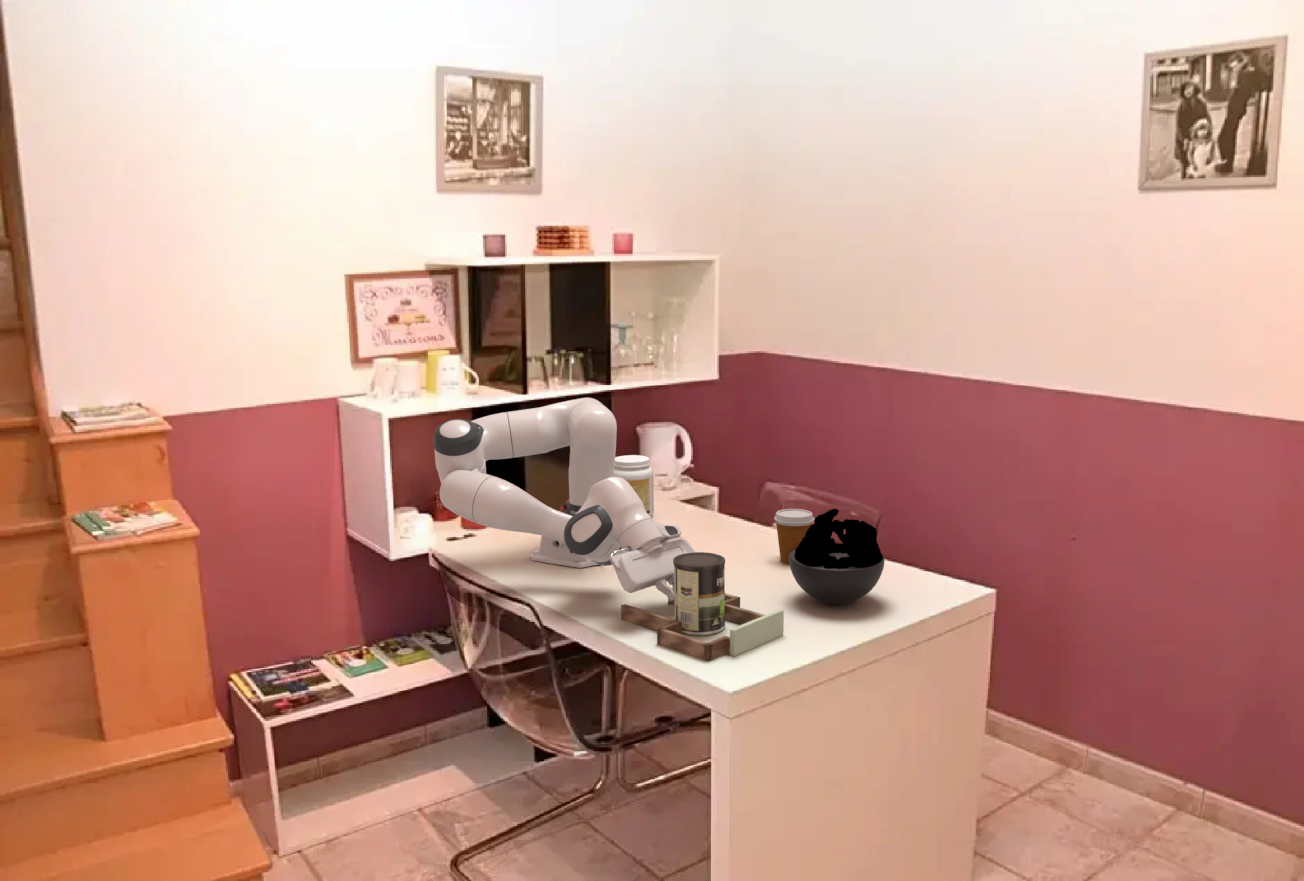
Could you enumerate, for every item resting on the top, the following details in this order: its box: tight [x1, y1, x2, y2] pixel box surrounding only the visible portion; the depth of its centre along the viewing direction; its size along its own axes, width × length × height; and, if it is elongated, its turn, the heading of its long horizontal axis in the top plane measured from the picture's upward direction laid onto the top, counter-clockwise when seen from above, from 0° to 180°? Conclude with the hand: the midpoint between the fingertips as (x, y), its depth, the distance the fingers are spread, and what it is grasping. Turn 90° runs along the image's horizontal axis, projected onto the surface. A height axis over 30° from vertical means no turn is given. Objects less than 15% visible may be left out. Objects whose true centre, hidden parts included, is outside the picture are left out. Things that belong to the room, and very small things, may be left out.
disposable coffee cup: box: [773, 508, 815, 566], centre depth 253 cm, size 10×10×12 cm
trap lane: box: [620, 587, 765, 662], centre depth 211 cm, size 29×25×3 cm
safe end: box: [729, 608, 785, 657], centre depth 200 cm, size 1×15×5 cm, turn 136°
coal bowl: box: [788, 508, 885, 605], centre depth 223 cm, size 20×20×19 cm
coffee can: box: [673, 551, 726, 637], centre depth 210 cm, size 10×10×14 cm
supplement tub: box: [614, 454, 655, 518], centre depth 298 cm, size 12×12×17 cm
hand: (677, 598), depth 214 cm, fingers closed, pressing on coffee can
